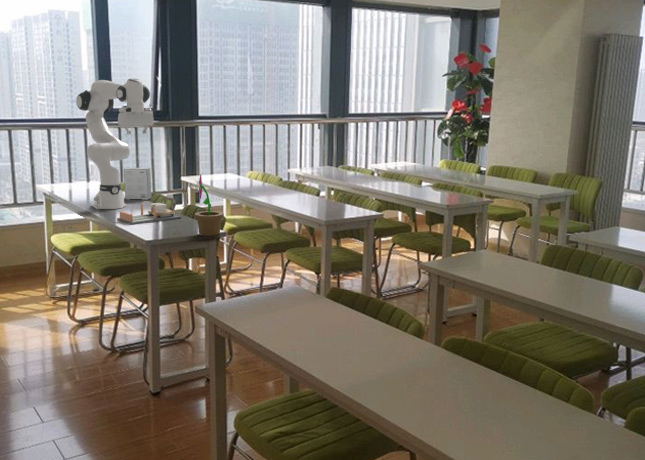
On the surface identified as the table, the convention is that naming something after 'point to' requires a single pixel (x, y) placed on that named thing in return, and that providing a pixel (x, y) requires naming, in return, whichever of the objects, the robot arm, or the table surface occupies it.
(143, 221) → the dock mat
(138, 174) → the hard drive box
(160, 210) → the tan box with handle
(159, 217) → the rails
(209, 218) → the flowerpot
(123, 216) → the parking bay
